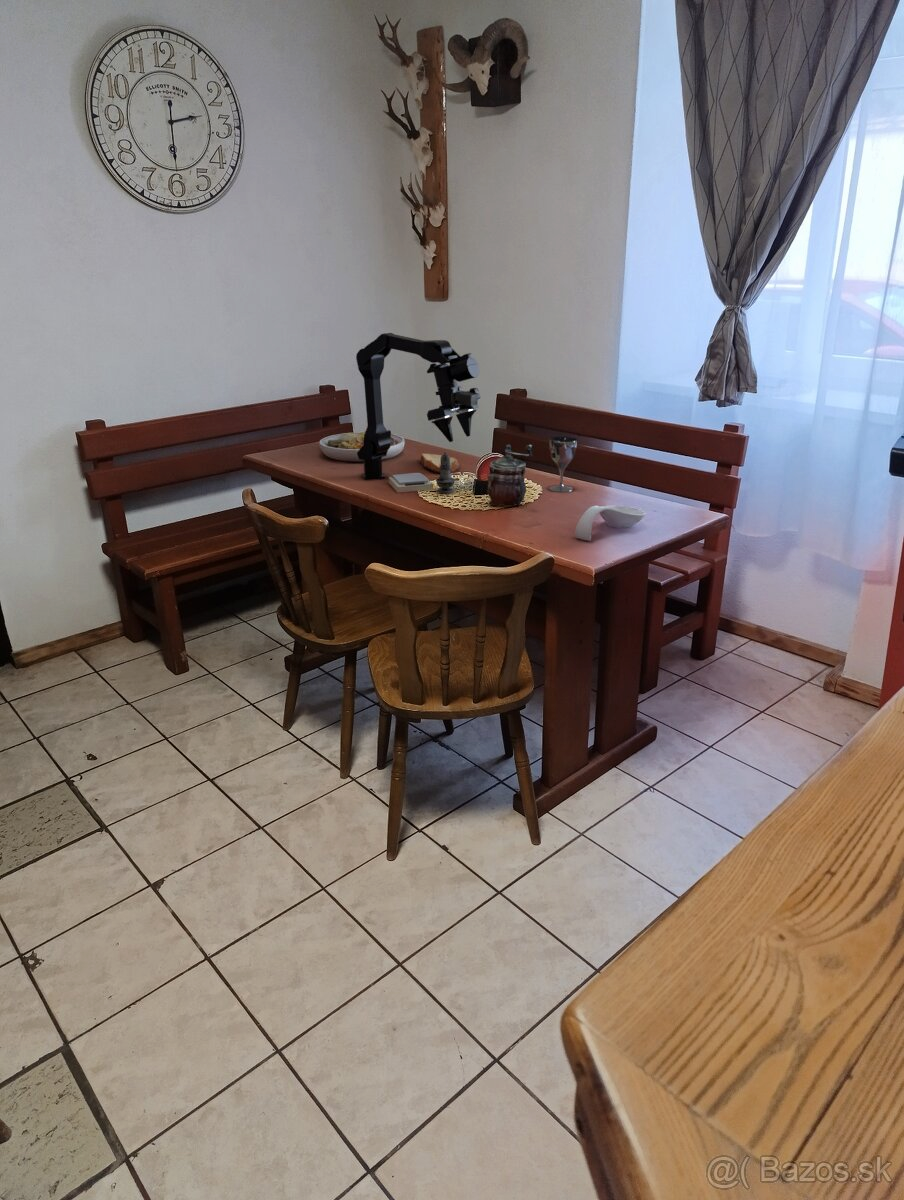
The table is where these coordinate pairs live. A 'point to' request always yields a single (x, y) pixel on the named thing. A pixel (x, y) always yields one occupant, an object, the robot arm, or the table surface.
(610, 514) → the spoon rest
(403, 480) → the scale
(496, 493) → the coffee grinder
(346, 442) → the bowl
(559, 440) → the wine glass
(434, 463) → the bread slice
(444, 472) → the grey carved figurine
